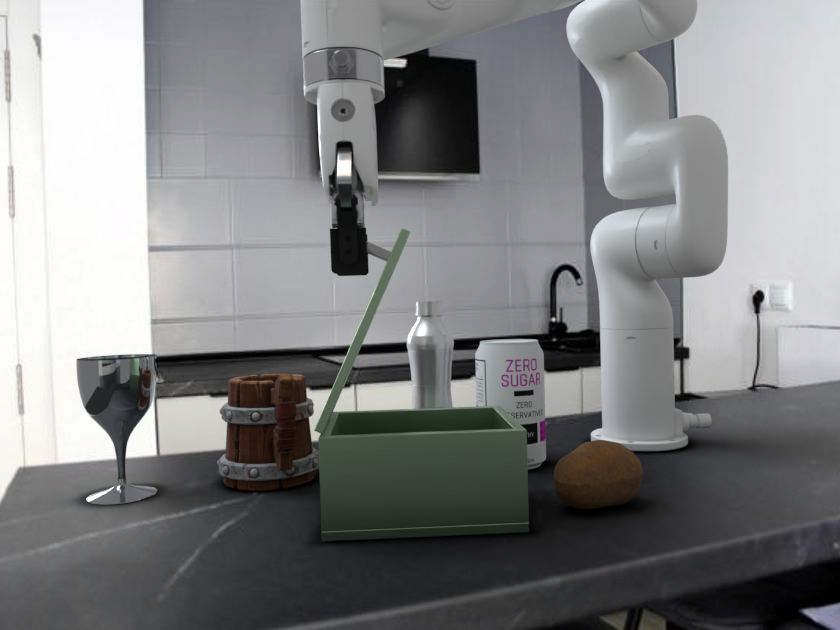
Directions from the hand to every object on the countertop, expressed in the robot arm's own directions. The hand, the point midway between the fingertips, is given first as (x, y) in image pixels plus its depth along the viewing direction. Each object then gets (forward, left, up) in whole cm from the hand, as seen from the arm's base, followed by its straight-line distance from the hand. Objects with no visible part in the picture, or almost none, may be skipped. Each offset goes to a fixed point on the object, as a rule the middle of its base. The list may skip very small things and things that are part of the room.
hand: (351, 272), depth 66 cm
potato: (-23, 0, -23) cm, 33 cm away
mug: (+10, -14, -23) cm, 29 cm away
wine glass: (+26, -11, -23) cm, 36 cm away
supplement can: (-18, -18, -23) cm, 34 cm away
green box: (-6, 0, -23) cm, 24 cm away
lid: (-1, 0, -5) cm, 6 cm away
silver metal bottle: (-9, -27, -23) cm, 37 cm away
